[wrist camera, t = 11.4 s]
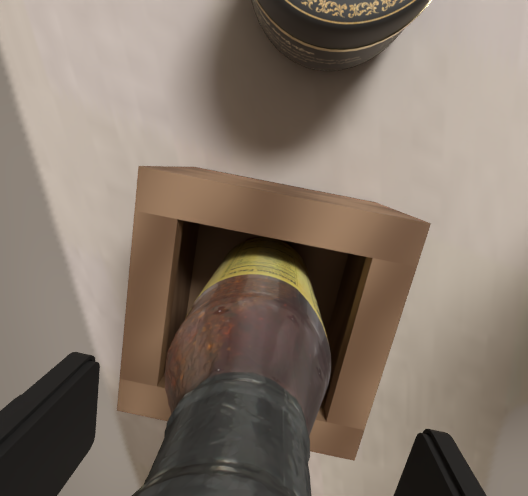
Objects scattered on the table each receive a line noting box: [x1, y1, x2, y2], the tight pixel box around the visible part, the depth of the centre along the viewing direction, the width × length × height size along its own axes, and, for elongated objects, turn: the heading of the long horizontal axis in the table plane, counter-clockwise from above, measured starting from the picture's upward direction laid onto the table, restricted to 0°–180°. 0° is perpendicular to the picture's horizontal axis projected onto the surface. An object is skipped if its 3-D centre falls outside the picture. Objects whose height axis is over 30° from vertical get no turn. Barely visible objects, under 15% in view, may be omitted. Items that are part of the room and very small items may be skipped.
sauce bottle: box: [132, 237, 331, 496], centre depth 14 cm, size 7×6×20 cm
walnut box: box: [117, 166, 430, 460], centre depth 20 cm, size 13×13×9 cm
